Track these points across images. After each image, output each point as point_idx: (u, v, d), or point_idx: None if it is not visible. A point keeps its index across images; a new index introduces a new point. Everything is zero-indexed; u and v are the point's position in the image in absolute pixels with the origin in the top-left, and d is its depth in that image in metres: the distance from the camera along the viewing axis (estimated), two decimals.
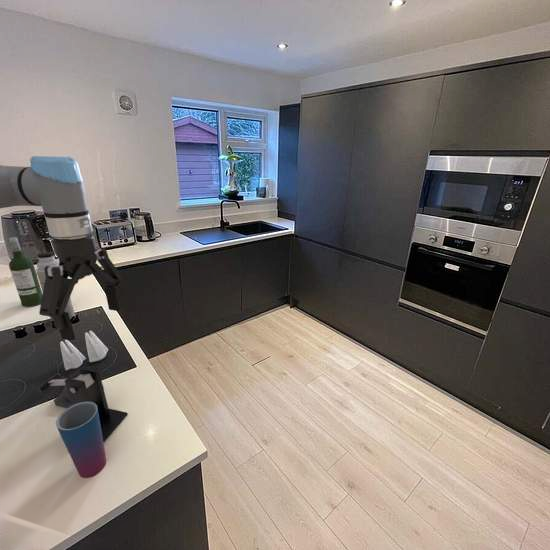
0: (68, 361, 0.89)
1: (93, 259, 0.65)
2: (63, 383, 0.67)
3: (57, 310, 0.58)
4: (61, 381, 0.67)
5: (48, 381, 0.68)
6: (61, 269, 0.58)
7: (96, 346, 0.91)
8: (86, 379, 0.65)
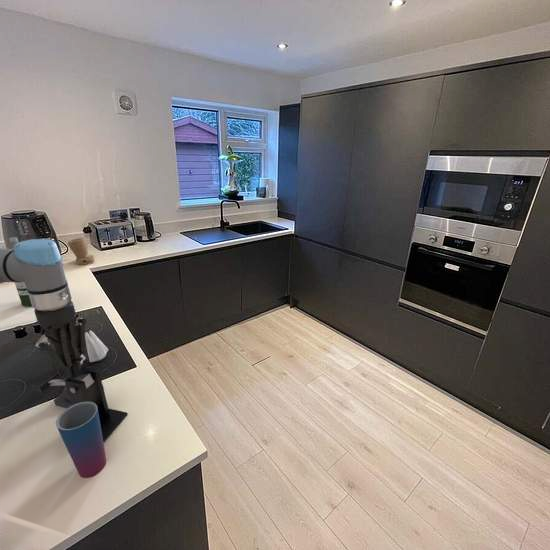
0: None
1: (73, 321, 0.73)
2: (63, 383, 0.67)
3: (66, 365, 0.72)
4: (61, 381, 0.67)
5: (48, 381, 0.68)
6: (46, 339, 0.67)
7: (96, 346, 0.91)
8: (86, 379, 0.65)
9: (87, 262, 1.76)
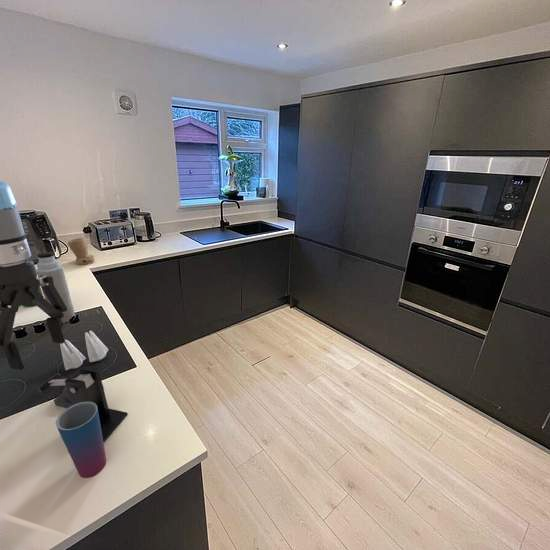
0: (68, 361, 0.89)
1: (34, 284, 0.62)
2: (63, 383, 0.67)
3: (1, 342, 0.57)
4: (61, 381, 0.67)
5: (48, 381, 0.68)
6: None
7: (96, 346, 0.91)
8: (86, 379, 0.65)
9: (87, 262, 1.76)
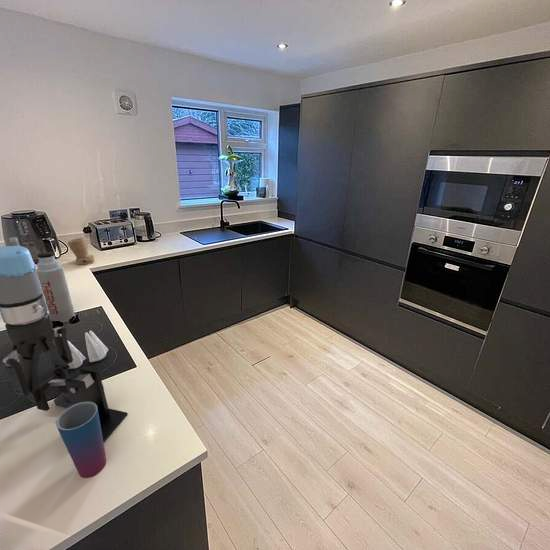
0: None
1: (50, 335, 0.67)
2: (63, 383, 0.67)
3: (31, 389, 0.64)
4: (61, 381, 0.67)
5: (48, 381, 0.68)
6: (16, 355, 0.61)
7: (96, 346, 0.91)
8: (86, 379, 0.65)
9: (87, 262, 1.76)
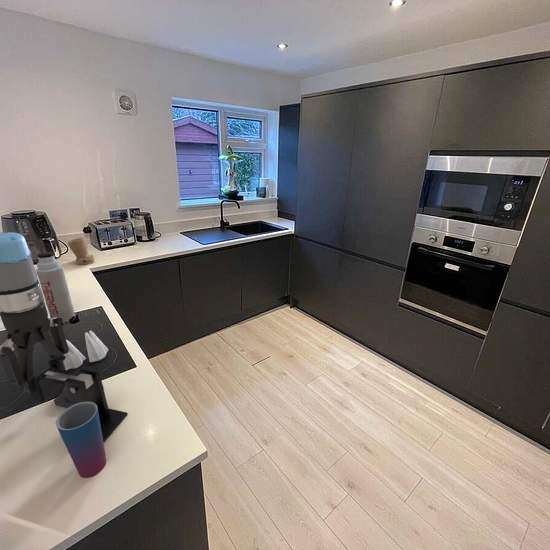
0: (68, 361, 0.89)
1: (45, 324, 0.66)
2: (61, 378, 0.66)
3: (26, 378, 0.63)
4: (59, 376, 0.67)
5: (44, 372, 0.68)
6: (11, 344, 0.60)
7: (96, 346, 0.91)
8: (87, 380, 0.65)
9: (87, 262, 1.76)
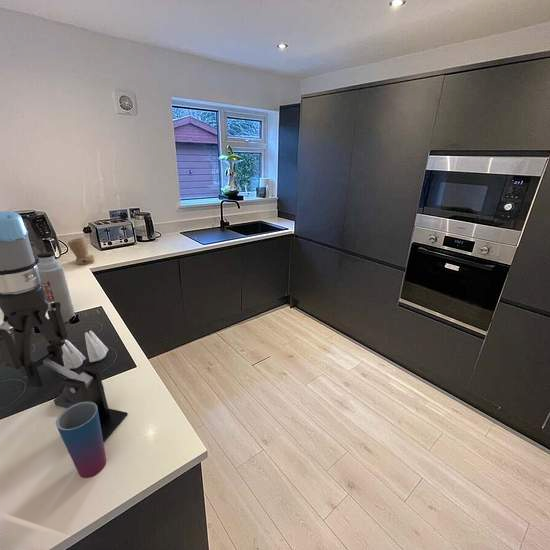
0: (68, 361, 0.89)
1: (43, 308, 0.64)
2: (60, 371, 0.66)
3: (23, 363, 0.61)
4: (59, 368, 0.66)
5: (43, 359, 0.66)
6: (7, 326, 0.58)
7: (96, 346, 0.91)
8: (88, 382, 0.65)
9: (87, 262, 1.76)
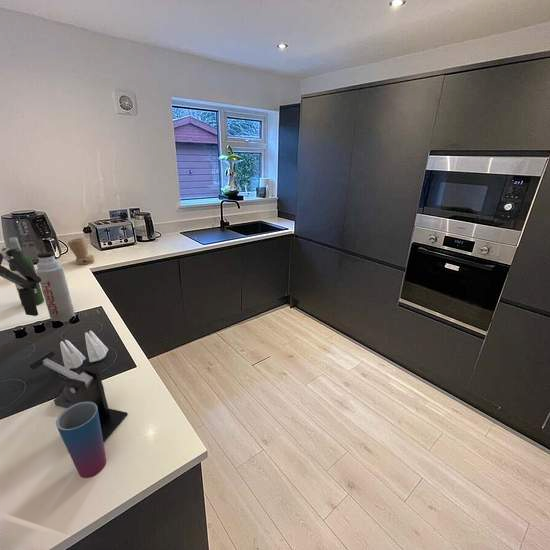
0: (68, 361, 0.89)
1: None
2: (60, 371, 0.66)
3: None
4: (59, 368, 0.66)
5: (43, 359, 0.66)
6: None
7: (96, 346, 0.91)
8: (88, 382, 0.65)
9: (87, 262, 1.76)
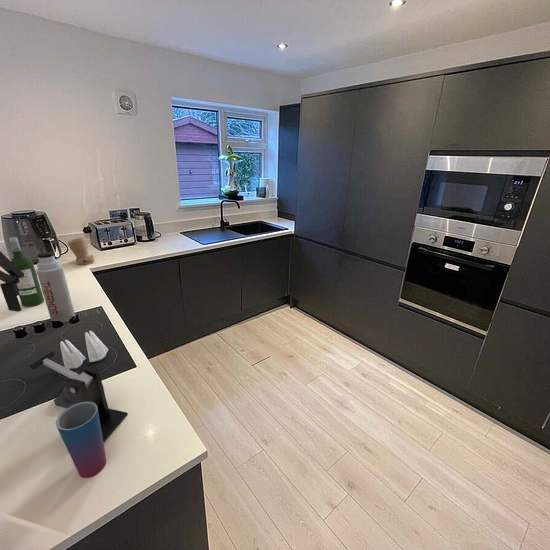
0: (68, 361, 0.89)
1: None
2: (60, 371, 0.66)
3: None
4: (59, 368, 0.66)
5: (43, 359, 0.66)
6: None
7: (96, 346, 0.91)
8: (88, 382, 0.65)
9: (87, 262, 1.76)
